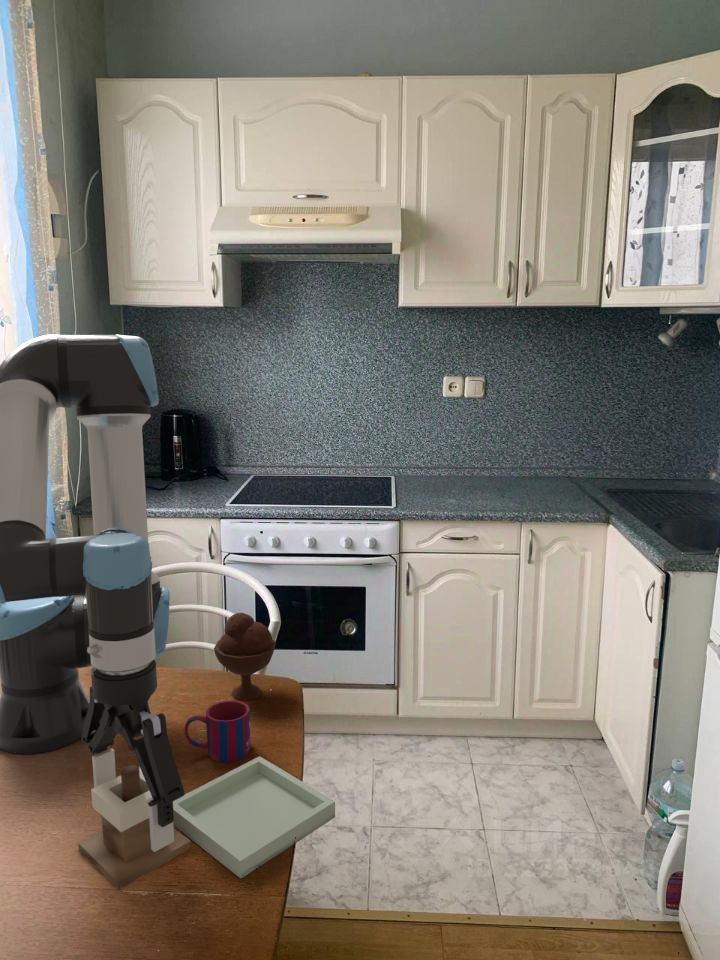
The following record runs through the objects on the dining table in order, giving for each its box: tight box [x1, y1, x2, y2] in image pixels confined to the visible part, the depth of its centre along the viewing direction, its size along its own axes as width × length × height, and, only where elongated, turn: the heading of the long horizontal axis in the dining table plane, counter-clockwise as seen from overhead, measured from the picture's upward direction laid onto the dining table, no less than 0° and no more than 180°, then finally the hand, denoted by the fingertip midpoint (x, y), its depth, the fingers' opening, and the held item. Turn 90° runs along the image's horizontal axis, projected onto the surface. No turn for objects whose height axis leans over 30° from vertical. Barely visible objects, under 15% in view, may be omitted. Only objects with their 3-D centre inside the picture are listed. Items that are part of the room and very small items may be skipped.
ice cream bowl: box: [213, 612, 277, 702], centre depth 134 cm, size 11×11×15 cm
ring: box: [90, 766, 152, 832], centre depth 93 cm, size 7×7×2 cm
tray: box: [173, 756, 336, 879], centre depth 100 cm, size 16×16×2 cm
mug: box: [184, 700, 251, 763], centre depth 116 cm, size 7×10×7 cm
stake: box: [77, 764, 192, 890], centre depth 93 cm, size 10×10×11 cm
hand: (133, 820), depth 93 cm, fingers open, 13 cm apart
